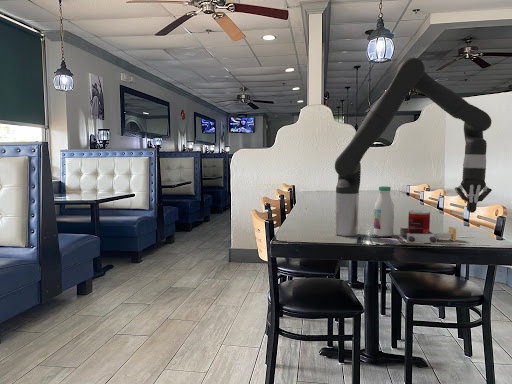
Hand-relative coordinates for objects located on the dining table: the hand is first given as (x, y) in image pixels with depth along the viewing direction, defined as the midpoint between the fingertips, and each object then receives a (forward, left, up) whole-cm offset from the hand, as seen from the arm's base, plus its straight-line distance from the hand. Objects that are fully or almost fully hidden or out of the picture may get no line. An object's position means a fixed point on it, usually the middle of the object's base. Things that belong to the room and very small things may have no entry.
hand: (471, 212), depth 148 cm
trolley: (-16, 0, -11) cm, 19 cm away
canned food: (-19, 0, -11) cm, 22 cm away
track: (-11, 0, -11) cm, 15 cm away
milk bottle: (-31, +7, -11) cm, 34 cm away
